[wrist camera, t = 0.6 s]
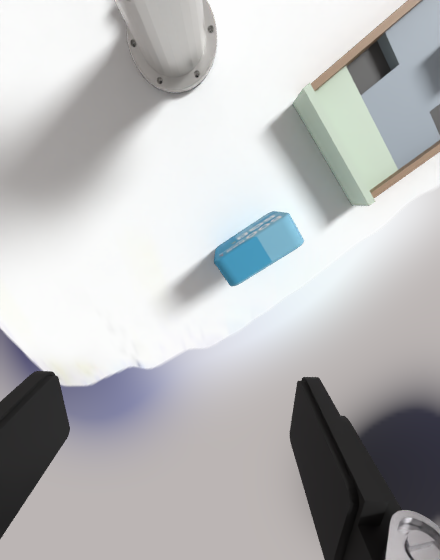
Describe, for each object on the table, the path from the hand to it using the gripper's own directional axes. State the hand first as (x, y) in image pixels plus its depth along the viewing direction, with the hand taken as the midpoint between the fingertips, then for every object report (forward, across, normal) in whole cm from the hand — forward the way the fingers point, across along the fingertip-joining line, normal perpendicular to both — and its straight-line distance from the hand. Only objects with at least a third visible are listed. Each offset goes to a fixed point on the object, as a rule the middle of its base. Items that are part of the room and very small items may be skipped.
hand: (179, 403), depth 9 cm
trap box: (+36, -29, -24) cm, 51 cm away
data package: (+36, -7, -1) cm, 36 cm away
